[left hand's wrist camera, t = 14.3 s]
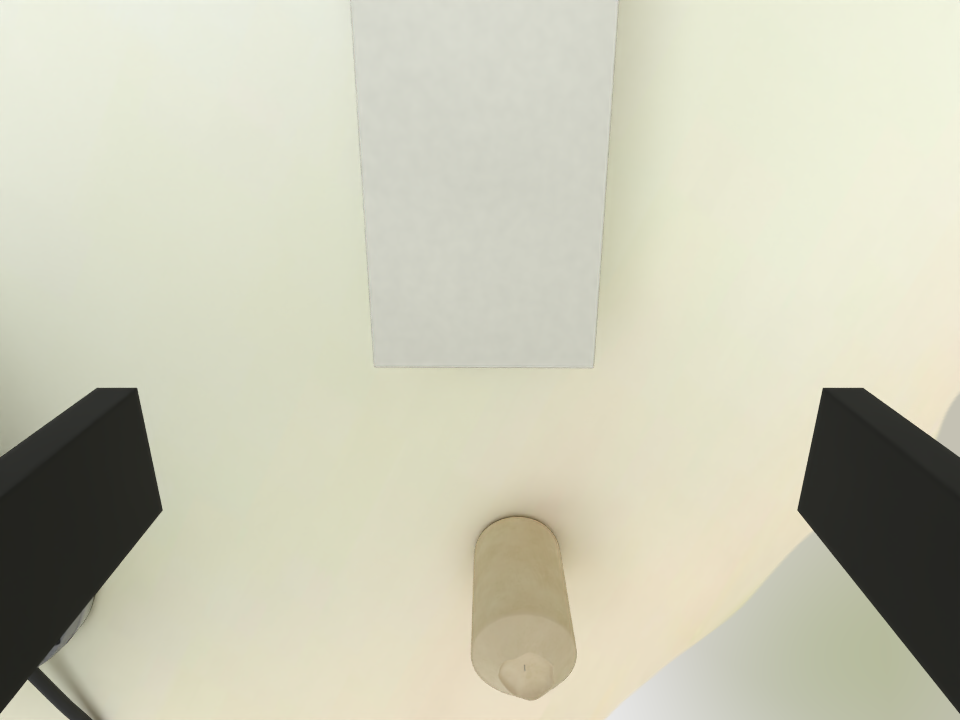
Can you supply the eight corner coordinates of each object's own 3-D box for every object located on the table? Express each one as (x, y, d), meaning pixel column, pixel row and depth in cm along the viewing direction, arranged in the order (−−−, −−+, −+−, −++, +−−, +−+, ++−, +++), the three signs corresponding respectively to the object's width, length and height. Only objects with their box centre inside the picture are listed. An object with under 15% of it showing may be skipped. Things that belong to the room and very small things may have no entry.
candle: (456, 544, 41) (448, 670, 32) (526, 500, 40) (538, 618, 31) (507, 598, 43) (513, 734, 33) (576, 558, 42) (601, 687, 32)
